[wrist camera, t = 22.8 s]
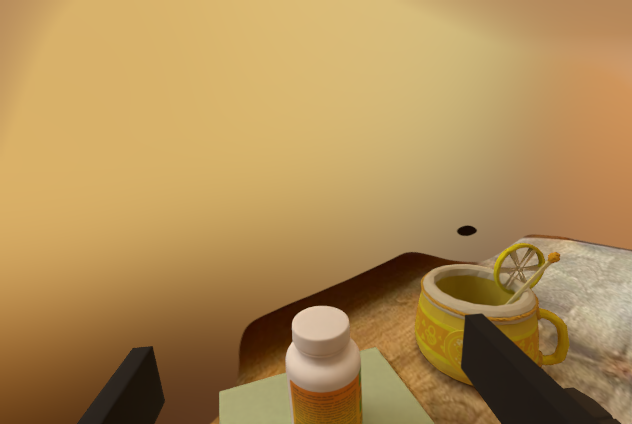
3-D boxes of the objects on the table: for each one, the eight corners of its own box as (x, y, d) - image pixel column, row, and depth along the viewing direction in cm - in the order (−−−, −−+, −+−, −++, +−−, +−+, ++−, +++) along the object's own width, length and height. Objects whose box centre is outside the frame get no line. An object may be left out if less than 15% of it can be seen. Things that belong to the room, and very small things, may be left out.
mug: (402, 374, 28) (403, 257, 25) (425, 313, 38) (428, 222, 34) (577, 434, 22) (606, 287, 19) (553, 343, 31) (571, 234, 28)
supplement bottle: (376, 450, 21) (374, 333, 19) (305, 482, 20) (293, 358, 17) (344, 392, 26) (340, 293, 24) (285, 414, 25) (274, 310, 22)
